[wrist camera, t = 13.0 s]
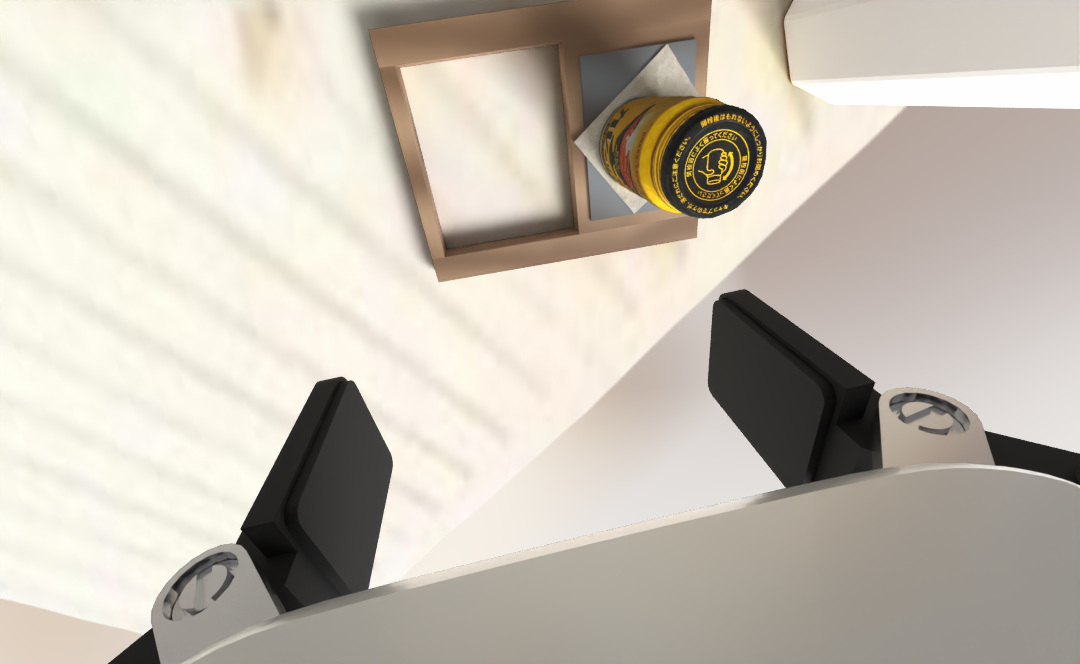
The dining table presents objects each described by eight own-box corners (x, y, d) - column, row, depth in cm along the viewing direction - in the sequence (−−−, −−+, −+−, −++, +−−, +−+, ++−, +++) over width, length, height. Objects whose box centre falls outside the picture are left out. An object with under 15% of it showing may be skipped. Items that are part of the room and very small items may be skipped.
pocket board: (375, 34, 27) (367, 29, 25) (698, -13, 28) (715, -21, 26) (440, 273, 36) (438, 283, 34) (686, 231, 37) (698, 238, 35)
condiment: (573, 142, 30) (623, 165, 19) (666, 44, 28) (779, 11, 17) (633, 213, 33) (704, 266, 23) (721, 130, 31) (844, 146, 20)
